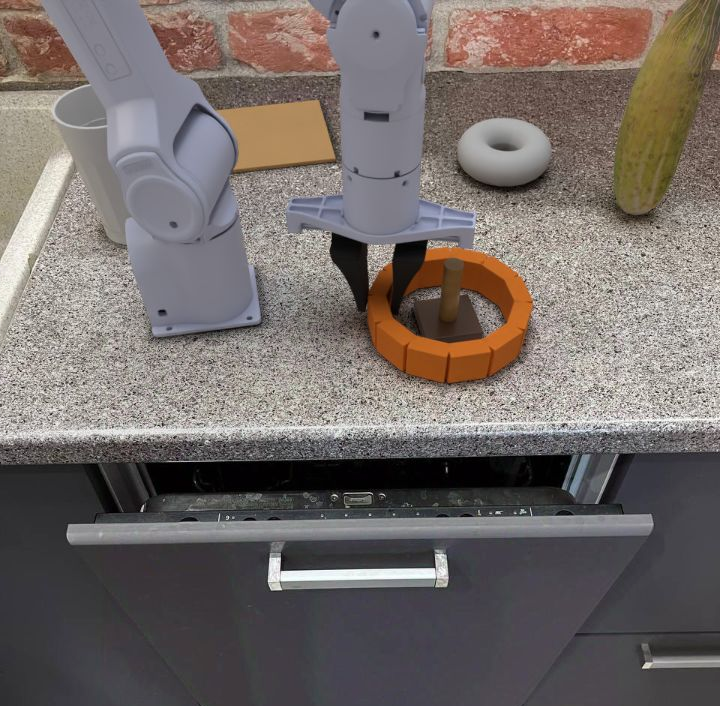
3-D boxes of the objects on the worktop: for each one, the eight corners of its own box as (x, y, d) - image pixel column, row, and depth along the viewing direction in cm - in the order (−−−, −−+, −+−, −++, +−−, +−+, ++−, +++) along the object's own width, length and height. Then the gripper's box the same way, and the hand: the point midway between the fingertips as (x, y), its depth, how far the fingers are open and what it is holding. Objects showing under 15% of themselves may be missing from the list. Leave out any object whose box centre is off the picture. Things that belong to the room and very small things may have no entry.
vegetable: (613, 233, 68) (690, 0, 51) (584, 197, 71) (647, -31, 55) (668, 221, 69) (761, -10, 52) (636, 187, 72) (714, -41, 56)
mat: (217, 174, 74) (216, 171, 74) (210, 114, 82) (210, 110, 81) (335, 161, 76) (335, 158, 75) (318, 102, 83) (318, 99, 82)
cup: (80, 236, 68) (31, 115, 59) (130, 194, 72) (93, 74, 63) (144, 259, 66) (104, 137, 56) (192, 215, 70) (163, 93, 60)
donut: (450, 189, 73) (546, 197, 71) (452, 157, 70) (553, 165, 68) (461, 139, 78) (550, 145, 77) (464, 108, 75) (557, 114, 74)
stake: (425, 348, 59) (431, 287, 54) (412, 309, 62) (416, 248, 56) (482, 340, 59) (493, 279, 54) (466, 302, 62) (475, 240, 57)
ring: (386, 392, 56) (387, 366, 54) (357, 284, 64) (356, 257, 61) (546, 369, 57) (554, 343, 55) (498, 266, 65) (503, 239, 62)
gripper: (487, 134, 50) (466, 283, 61) (293, 120, 52) (307, 268, 63) (481, 189, 46) (460, 338, 57) (272, 172, 48) (290, 321, 59)
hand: (379, 305), depth 60 cm, fingers closed
